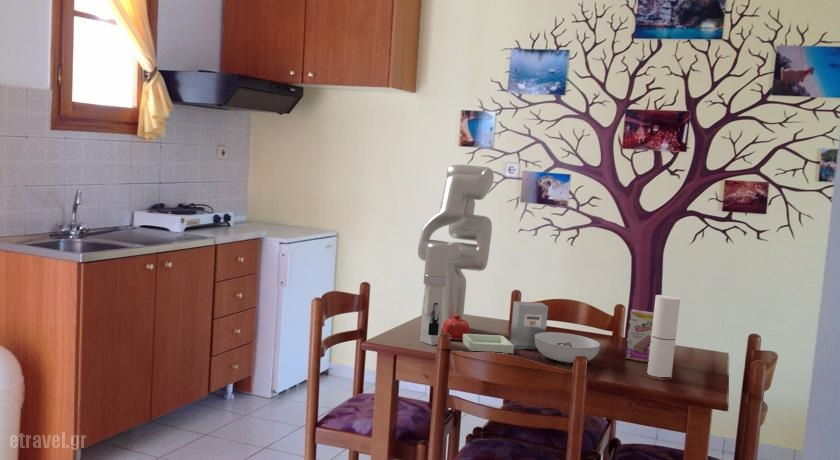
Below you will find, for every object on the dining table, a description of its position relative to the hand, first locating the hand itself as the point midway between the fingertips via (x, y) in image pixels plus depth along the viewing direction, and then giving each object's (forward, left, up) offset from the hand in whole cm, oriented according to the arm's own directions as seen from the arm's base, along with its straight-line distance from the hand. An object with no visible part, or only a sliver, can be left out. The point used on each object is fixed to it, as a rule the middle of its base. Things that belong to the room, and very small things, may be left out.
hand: (430, 331), depth 254 cm
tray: (+3, +19, -4) cm, 20 cm away
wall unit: (-1, +34, -4) cm, 34 cm away
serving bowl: (+15, +42, -4) cm, 45 cm away
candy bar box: (+12, +70, -4) cm, 71 cm away
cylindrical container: (+32, +66, -4) cm, 74 cm away
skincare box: (0, 0, -4) cm, 4 cm away
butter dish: (-10, +11, -4) cm, 15 cm away
